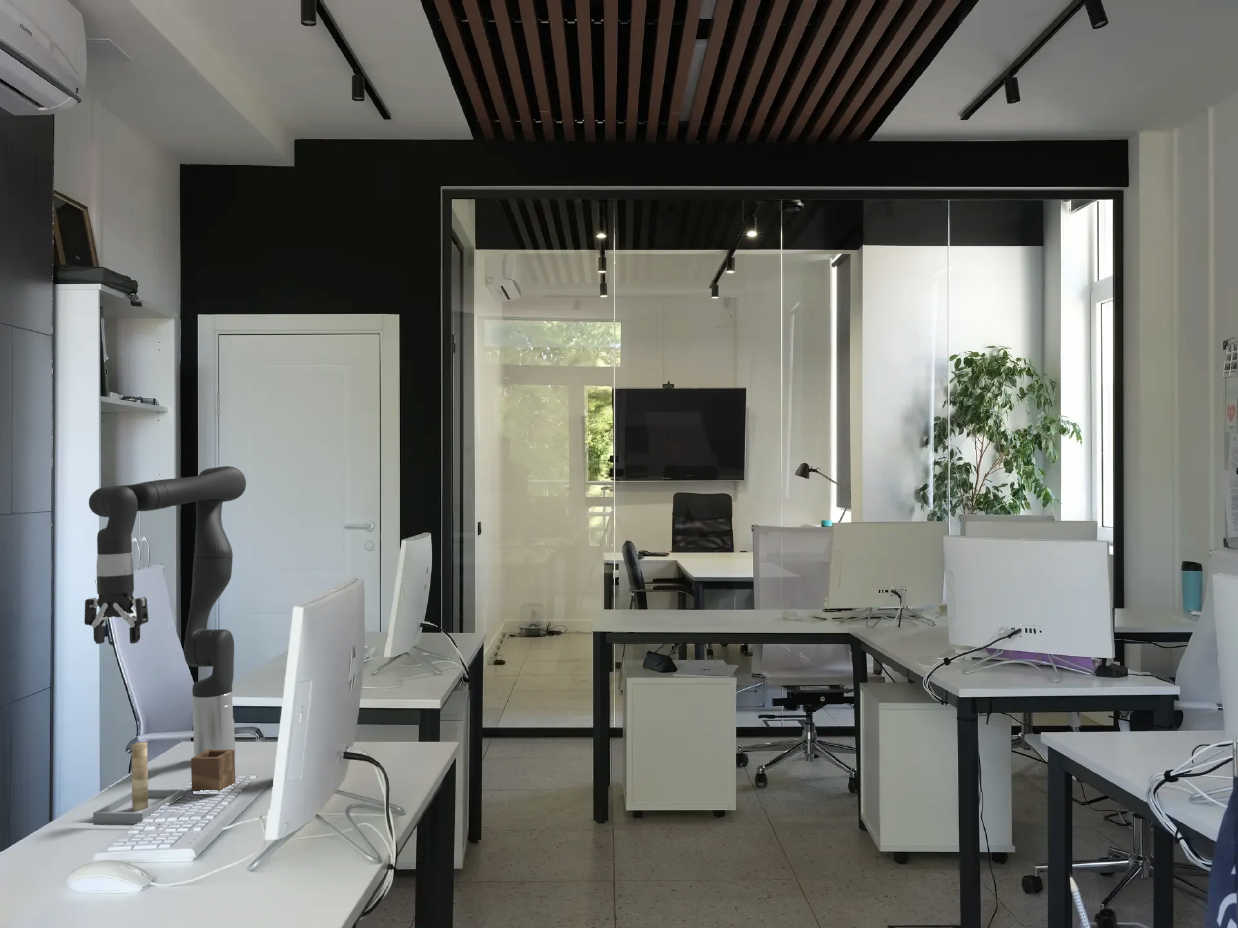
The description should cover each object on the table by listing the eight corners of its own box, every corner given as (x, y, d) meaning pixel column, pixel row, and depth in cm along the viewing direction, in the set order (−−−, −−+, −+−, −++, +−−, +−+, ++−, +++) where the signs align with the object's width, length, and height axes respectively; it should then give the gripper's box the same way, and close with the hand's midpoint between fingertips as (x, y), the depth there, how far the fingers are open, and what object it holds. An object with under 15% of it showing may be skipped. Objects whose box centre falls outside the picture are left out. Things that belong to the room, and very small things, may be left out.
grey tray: (137, 799, 207) (137, 788, 207) (183, 800, 205) (183, 789, 205) (93, 824, 192) (93, 812, 192) (142, 825, 191) (142, 813, 191)
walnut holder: (208, 788, 213) (207, 749, 213) (235, 788, 212) (234, 749, 212) (192, 798, 206) (190, 758, 206) (219, 799, 206) (218, 758, 206)
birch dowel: (138, 806, 200) (137, 742, 201) (151, 807, 200) (150, 742, 200) (129, 811, 197) (128, 746, 198) (142, 812, 197) (141, 746, 197)
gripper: (154, 570, 216) (155, 639, 216) (97, 571, 218) (99, 640, 218) (133, 574, 209) (135, 646, 209) (75, 575, 211) (77, 646, 210)
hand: (117, 643), depth 213 cm, fingers open, 8 cm apart
